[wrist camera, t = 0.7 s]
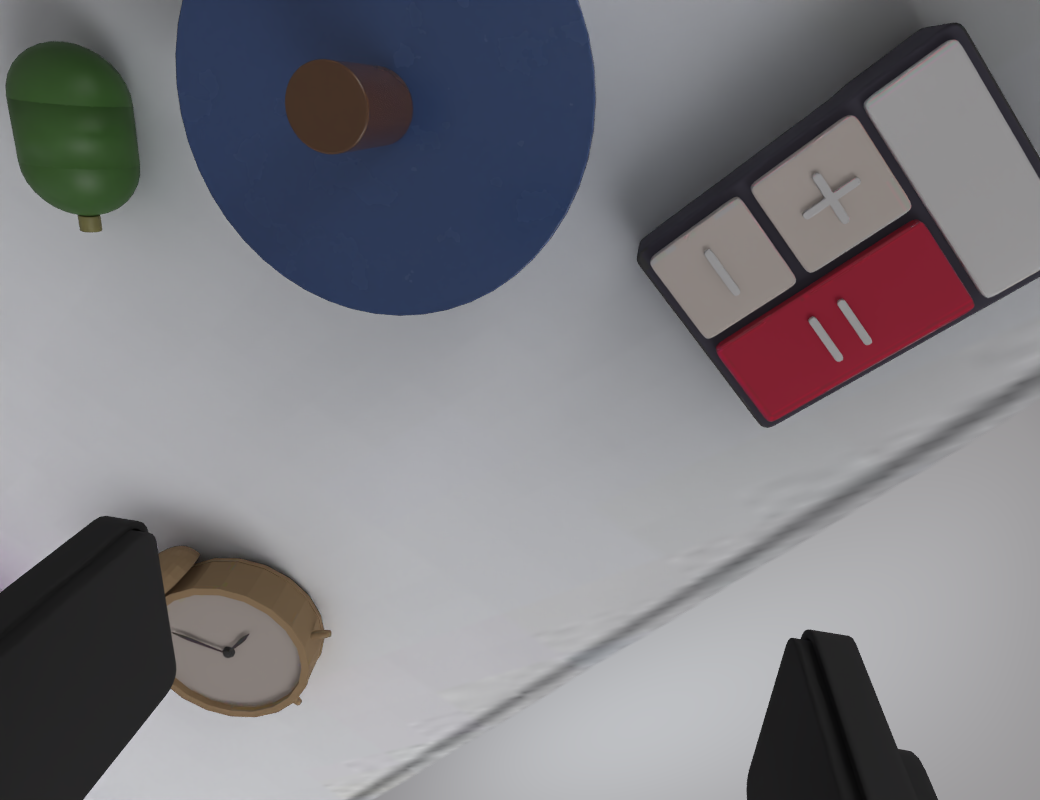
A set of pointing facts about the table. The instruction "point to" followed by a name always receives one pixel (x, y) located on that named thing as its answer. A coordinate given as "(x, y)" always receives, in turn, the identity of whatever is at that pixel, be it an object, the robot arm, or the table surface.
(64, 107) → the squash
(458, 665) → the table surface
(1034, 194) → the calculator
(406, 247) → the pot lid
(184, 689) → the alarm clock
